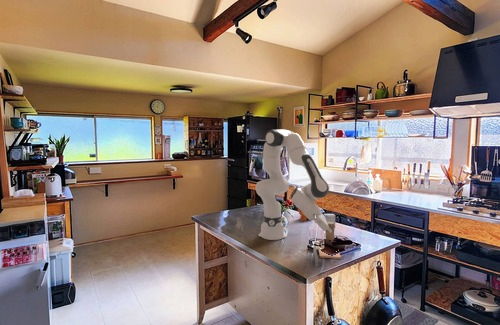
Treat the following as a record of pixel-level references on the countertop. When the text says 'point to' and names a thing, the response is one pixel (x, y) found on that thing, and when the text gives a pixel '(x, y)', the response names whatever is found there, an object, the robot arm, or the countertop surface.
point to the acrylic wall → (315, 256)
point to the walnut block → (329, 235)
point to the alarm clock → (302, 215)
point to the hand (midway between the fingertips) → (330, 230)
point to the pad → (324, 255)
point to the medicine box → (330, 218)
